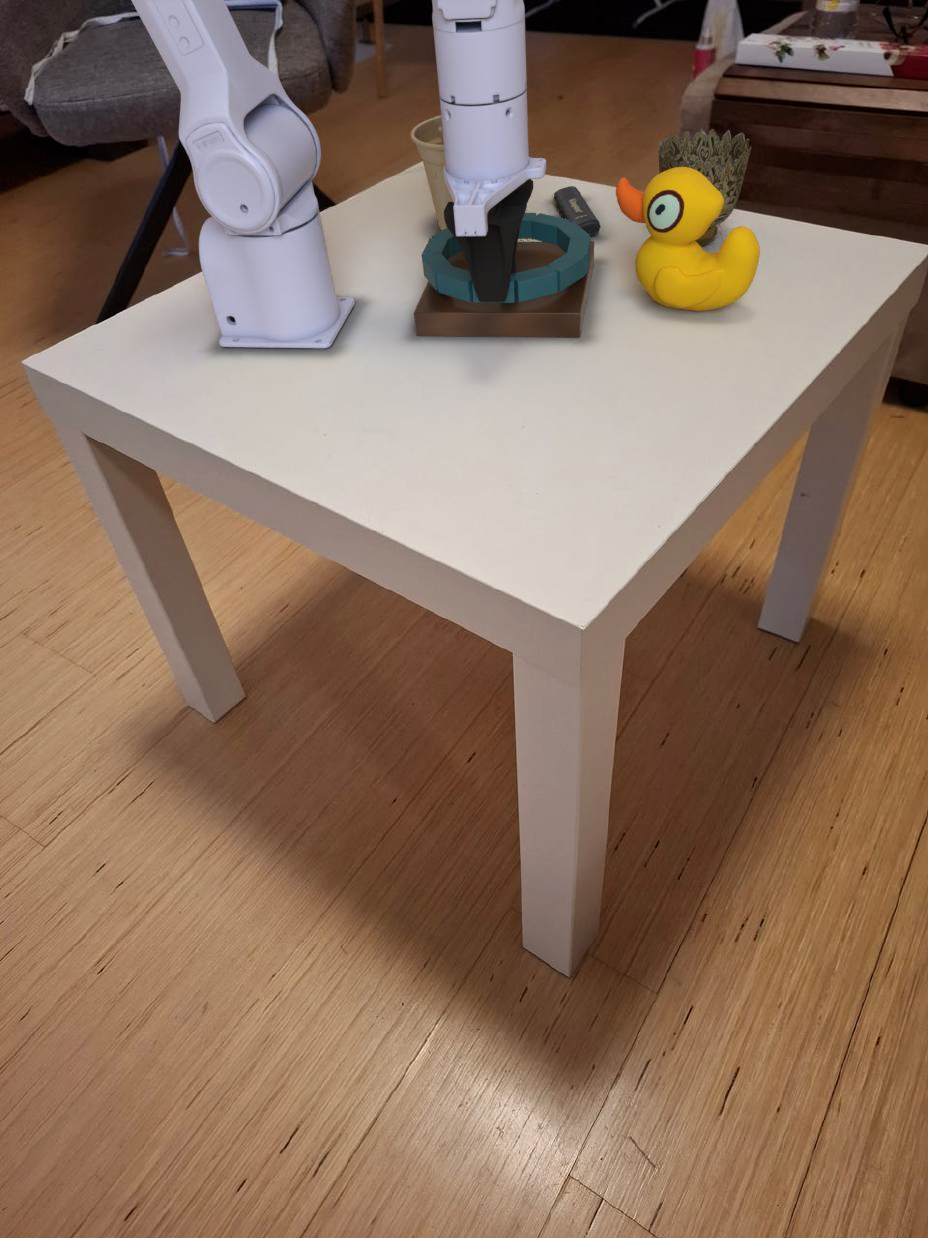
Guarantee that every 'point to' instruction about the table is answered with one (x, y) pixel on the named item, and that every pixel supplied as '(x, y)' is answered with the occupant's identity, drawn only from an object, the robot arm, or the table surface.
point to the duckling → (687, 242)
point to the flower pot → (433, 162)
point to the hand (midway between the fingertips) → (495, 293)
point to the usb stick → (576, 209)
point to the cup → (710, 166)
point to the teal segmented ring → (521, 283)
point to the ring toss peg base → (508, 304)
